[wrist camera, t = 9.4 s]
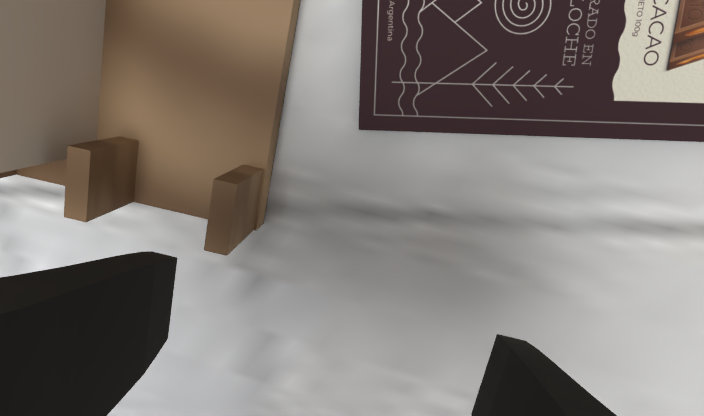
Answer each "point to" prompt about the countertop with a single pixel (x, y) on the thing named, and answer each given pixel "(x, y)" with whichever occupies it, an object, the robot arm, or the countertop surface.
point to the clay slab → (48, 78)
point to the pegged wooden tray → (184, 114)
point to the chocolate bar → (534, 68)
